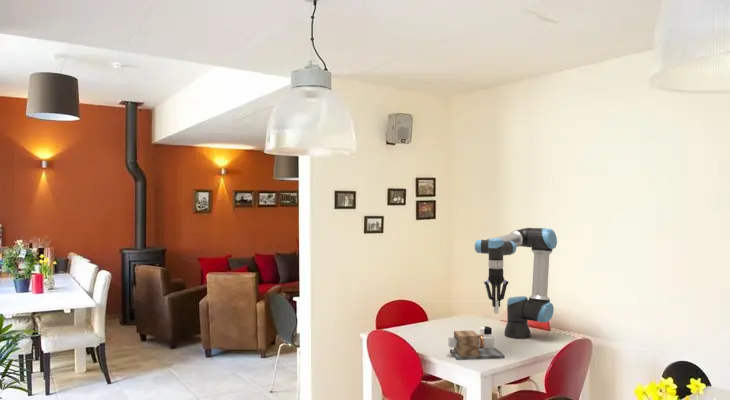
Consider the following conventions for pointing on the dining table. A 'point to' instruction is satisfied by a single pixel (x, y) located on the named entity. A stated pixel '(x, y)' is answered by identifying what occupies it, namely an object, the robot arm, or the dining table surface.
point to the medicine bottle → (487, 337)
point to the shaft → (454, 342)
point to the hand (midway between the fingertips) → (496, 312)
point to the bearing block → (472, 347)
